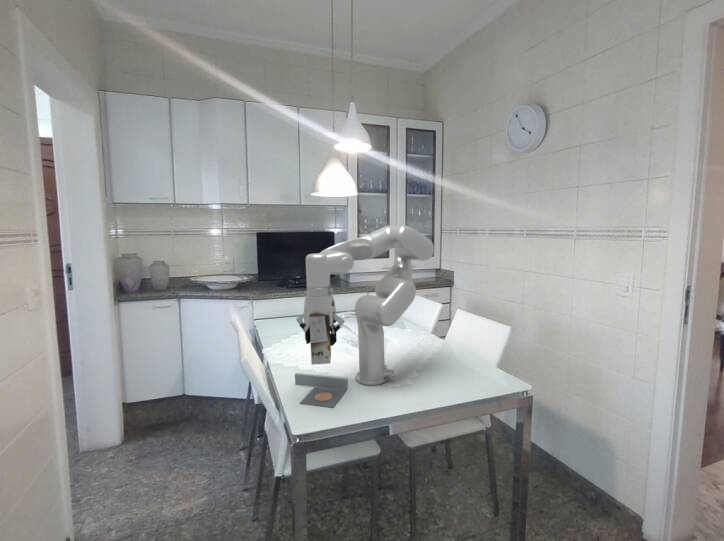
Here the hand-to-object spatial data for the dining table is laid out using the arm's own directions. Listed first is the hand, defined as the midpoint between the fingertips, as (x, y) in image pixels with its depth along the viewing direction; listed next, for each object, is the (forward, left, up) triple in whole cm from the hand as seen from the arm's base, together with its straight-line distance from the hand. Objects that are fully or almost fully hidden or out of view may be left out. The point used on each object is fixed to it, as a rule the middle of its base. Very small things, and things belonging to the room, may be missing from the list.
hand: (320, 343), depth 128 cm
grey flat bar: (+4, -8, -19) cm, 21 cm away
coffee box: (0, 0, -6) cm, 6 cm away
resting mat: (0, 0, -19) cm, 19 cm away
